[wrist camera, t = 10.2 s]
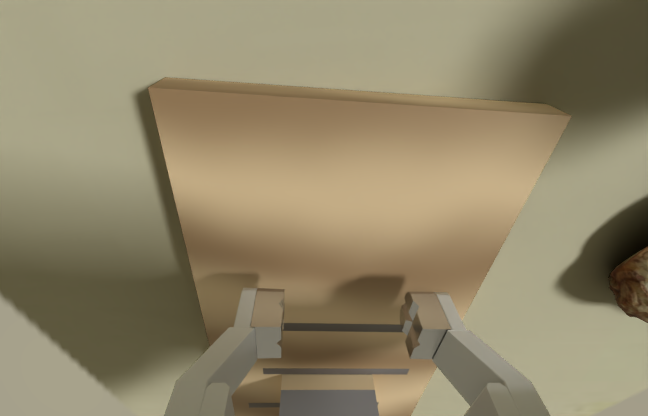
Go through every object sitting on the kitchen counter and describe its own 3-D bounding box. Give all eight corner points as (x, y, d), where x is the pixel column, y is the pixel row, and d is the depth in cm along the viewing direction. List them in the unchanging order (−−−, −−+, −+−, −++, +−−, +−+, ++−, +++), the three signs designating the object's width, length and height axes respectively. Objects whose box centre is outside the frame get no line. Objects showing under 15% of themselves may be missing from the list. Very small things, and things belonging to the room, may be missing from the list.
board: (165, 77, 9) (147, 87, 8) (546, 103, 10) (572, 116, 9) (236, 427, 23) (233, 446, 22) (392, 425, 24) (395, 444, 23)
